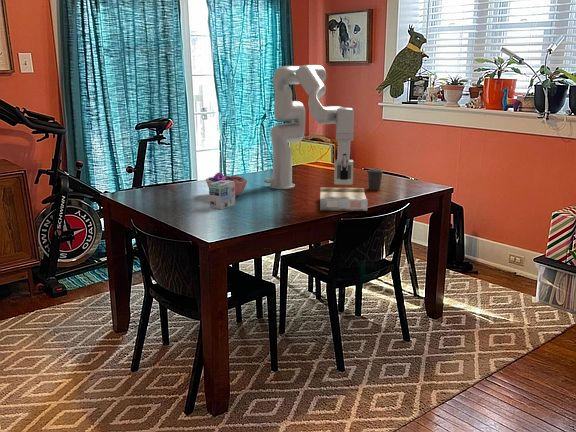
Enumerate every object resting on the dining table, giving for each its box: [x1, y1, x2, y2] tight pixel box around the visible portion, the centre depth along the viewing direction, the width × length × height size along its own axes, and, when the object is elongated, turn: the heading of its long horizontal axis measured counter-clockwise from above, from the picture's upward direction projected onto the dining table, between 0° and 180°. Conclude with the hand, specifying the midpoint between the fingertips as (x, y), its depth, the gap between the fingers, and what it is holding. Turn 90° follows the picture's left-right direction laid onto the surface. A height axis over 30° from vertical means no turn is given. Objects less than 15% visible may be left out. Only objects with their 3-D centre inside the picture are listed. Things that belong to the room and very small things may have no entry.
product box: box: [333, 159, 354, 186], centre depth 252 cm, size 5×8×10 cm, turn 87°
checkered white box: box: [319, 187, 369, 212], centre depth 255 cm, size 20×22×6 cm
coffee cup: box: [366, 168, 384, 191], centre depth 286 cm, size 8×8×10 cm
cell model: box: [205, 171, 248, 197], centre depth 270 cm, size 17×20×11 cm
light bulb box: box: [208, 180, 236, 210], centre depth 253 cm, size 11×7×11 cm, turn 148°
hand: (343, 177), depth 253 cm, fingers closed on product box, 5 cm apart
